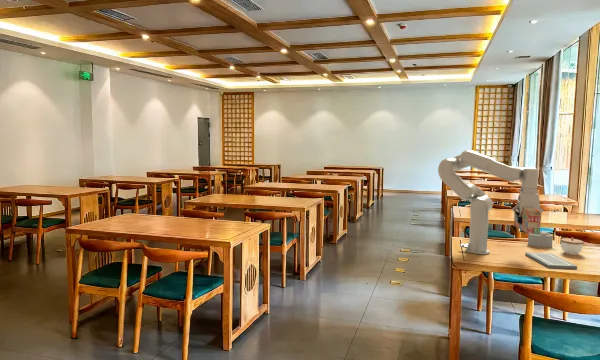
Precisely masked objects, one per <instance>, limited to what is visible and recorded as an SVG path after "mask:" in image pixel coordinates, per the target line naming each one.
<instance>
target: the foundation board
mask: <svg viewBox="0 0 600 360" xmlns="http://www.w3.org/2000/svg"><path fill="white" fill-rule="evenodd" d="M524 254H525V255H524V256H526V257H528V258H530V259H531V260H533V261H535V262H537V263H539V264H540V265H542V266H544V267H545V268H548V269H565V270H566V269H567V270H578V265H576V264H574V263H572V262H570V261H567V260H566V259H564V258H562V257H560V256H557V255H555V254H554V253H551V252H525V253H524Z"/></svg>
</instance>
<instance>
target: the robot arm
mask: <svg viewBox="0 0 600 360" xmlns="http://www.w3.org/2000/svg"><path fill="white" fill-rule="evenodd" d="M467 167H471V168H474V169H477V170H479V171H482V172H484V173H487V174H490V175H491V176H494V177H496V178H500V179H502V180H505V181H508V182H515V181H521V183H520V184H521V185H520V188H518V192H520V193H519V194H518V197H517V203H516V205H515V206H514V207H512V209H511V210H512V211H513V212H515V214H516V215H517V216H518V220H517V222H518V223H519V224H522V217H521V216H522V214H523V212H524V208H536V209H539V210H541V211H542V212H541V214H542V213H543V212H544V209H543V207H541V206H540V205H541V203H540V196H539V193H538V180H539V179H538V178H539V169H538V168H536V167H520V166H509V165H506V164H505V163H501V162H499V161H496V160H495V159H494V158H492V157H490V156H488V155H484V154H481V153H478V152H476V150H472V149H469V150H464V151H462V152H461V153H460V154H458V155H456V156H453V157H448V158H447V157H446V158H443V159H442V160H441V161H439V165H438V167H437V172H438V176H439V178H440V180H441V181H442V182H443V183H444V184H445V185H446V186H447V187H448V188H449V189H450V190H451V191H452V192H454V193H455V195H457V196H458V197H459V198H460V199H461V200H462V201H468V202H470V206H469V207H470V208H469V215H470V219H469V221H470V223H469V239H468V241H469V242H467V243H460V244H459V246H460V248H464V249H465V251H466V252H467V253H470V254H473V255H474V254H476V255H489V254H490V250H489V249H488V238H489V237H488V235H489V233H488V232H489V212H490V211H491V209H492V208H493V204H494V202H493V200H492V198H491V197H490V196H489V195H487V194H486V192H484V191H483V190H482V189H481V188H479V187H478V186H477V185H476V184H474V183H472V182H471V183H470V182H468V183H467V182H466V181H465V180H464V179H462V177H461V176H459V175H458V174H457V173H456V172H457V171H461V170H463V169H465V168H467ZM516 209H517V210H518V211H519V212H517V211H516Z"/></svg>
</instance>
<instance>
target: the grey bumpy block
mask: <svg viewBox="0 0 600 360" xmlns="http://www.w3.org/2000/svg"><path fill="white" fill-rule="evenodd" d="M553 238H554V235H553V234H551V233H549V232H547V231H545V230H544V231H543V230H542V231H541V230H540V234H530V233H528V237H527V245H528V246H530V247H536V248H553V241H554V240H553Z"/></svg>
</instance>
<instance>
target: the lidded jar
mask: <svg viewBox="0 0 600 360" xmlns="http://www.w3.org/2000/svg"><path fill="white" fill-rule="evenodd" d="M560 241H561V242H560V247H561V249H562V251H563V252H564V254H566V255H570V256H577V255H578V254H580V253H581V252H582V250H583V246H584V241H583V240H581V239H577V238H574V237H571V238H568V237H567V238H566V237H565V238H564V237H563V238H561V240H560Z"/></svg>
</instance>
